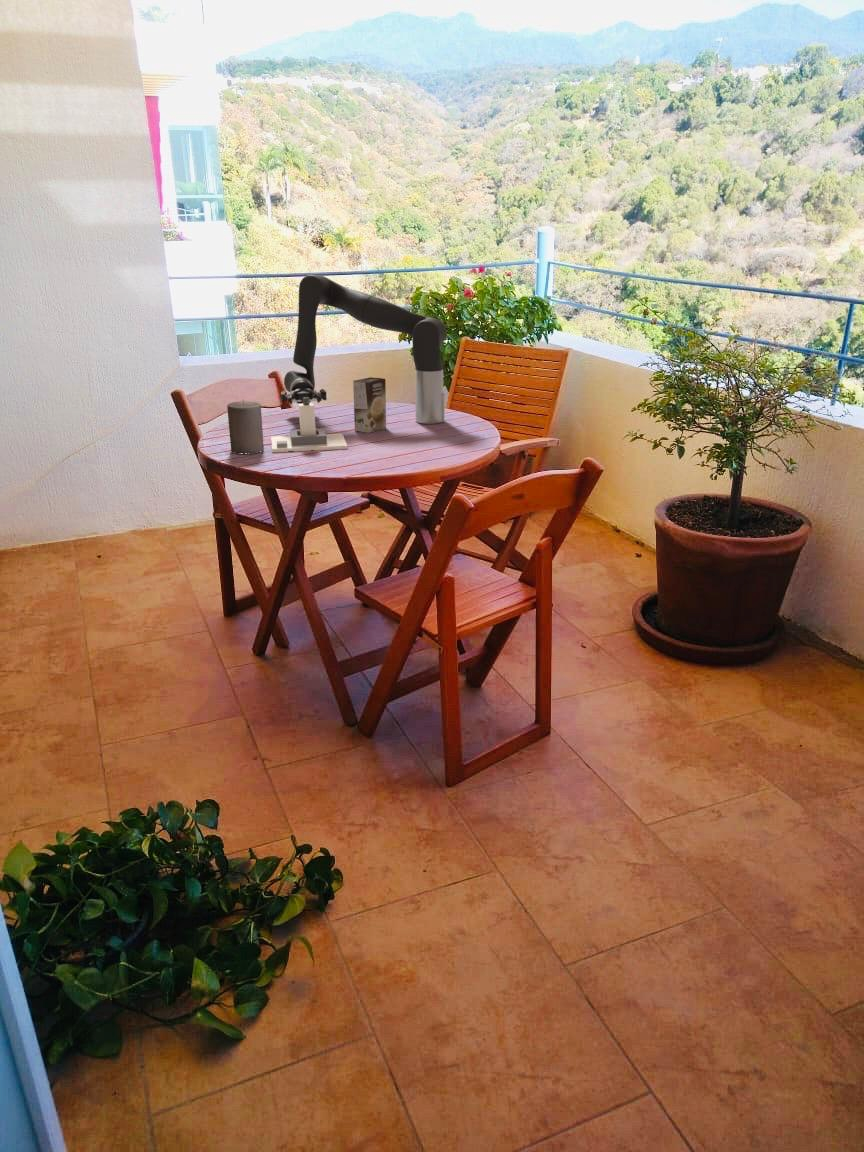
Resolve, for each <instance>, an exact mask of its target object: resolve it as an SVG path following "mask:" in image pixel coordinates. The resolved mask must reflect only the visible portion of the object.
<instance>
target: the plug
mask: <svg viewBox="0 0 864 1152" xmlns="http://www.w3.org/2000/svg"><path fill="white" fill-rule="evenodd" d="M315 411H316V410H315V405H314V402H310V403H309V398H308V397H304V398H303V404H298V415H299V416H298V417H299V419H298V420H299V430H300V434H301V435H316V429H317V428H316V413H315Z"/></svg>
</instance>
